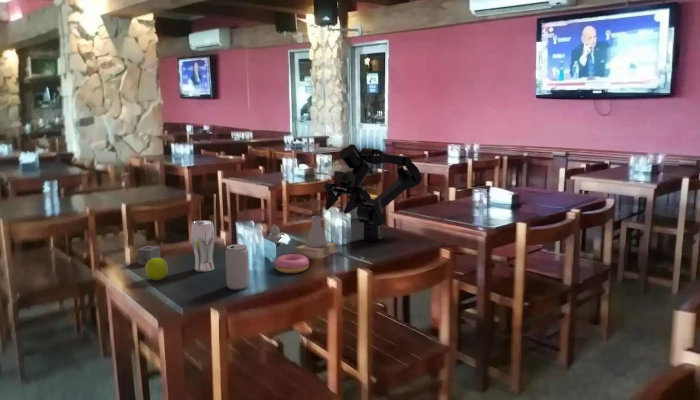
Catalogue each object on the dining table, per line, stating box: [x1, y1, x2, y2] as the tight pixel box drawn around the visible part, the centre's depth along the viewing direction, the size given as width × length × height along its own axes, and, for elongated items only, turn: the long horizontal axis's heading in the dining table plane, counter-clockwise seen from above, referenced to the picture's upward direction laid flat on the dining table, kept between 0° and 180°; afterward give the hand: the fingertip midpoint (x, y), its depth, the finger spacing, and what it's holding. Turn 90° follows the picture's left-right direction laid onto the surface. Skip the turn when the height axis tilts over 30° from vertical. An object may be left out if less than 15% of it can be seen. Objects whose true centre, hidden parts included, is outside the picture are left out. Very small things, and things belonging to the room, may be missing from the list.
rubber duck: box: [267, 223, 285, 245], centre depth 216 cm, size 5×7×8 cm
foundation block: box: [295, 241, 339, 261], centre depth 203 cm, size 12×9×3 cm
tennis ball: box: [144, 258, 169, 281], centre depth 176 cm, size 7×7×7 cm
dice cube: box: [136, 245, 161, 266], centre depth 193 cm, size 5×5×5 cm
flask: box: [305, 215, 328, 247], centre depth 202 cm, size 7×7×10 cm
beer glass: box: [190, 219, 216, 273], centre depth 185 cm, size 7×7×15 cm
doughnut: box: [273, 253, 310, 274], centre depth 186 cm, size 11×11×4 cm
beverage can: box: [224, 243, 250, 291], centre depth 168 cm, size 6×6×12 cm
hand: (335, 211), depth 207 cm, fingers open, 9 cm apart
